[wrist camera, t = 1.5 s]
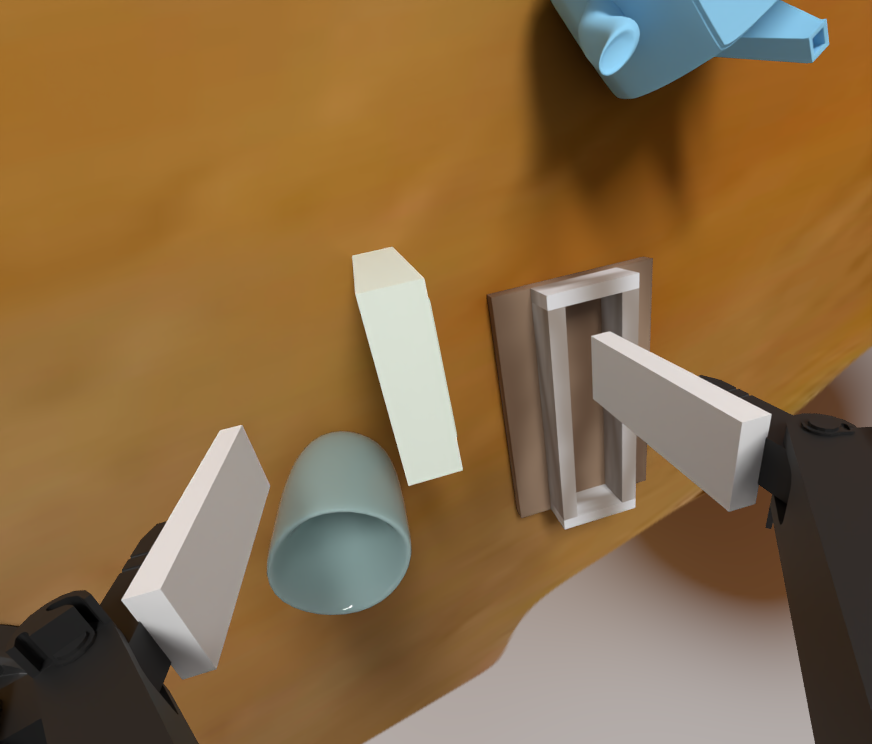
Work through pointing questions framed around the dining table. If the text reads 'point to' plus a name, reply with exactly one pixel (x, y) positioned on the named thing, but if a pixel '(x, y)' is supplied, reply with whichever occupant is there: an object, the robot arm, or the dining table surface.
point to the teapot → (685, 37)
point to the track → (569, 390)
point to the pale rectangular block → (407, 363)
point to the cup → (339, 528)
